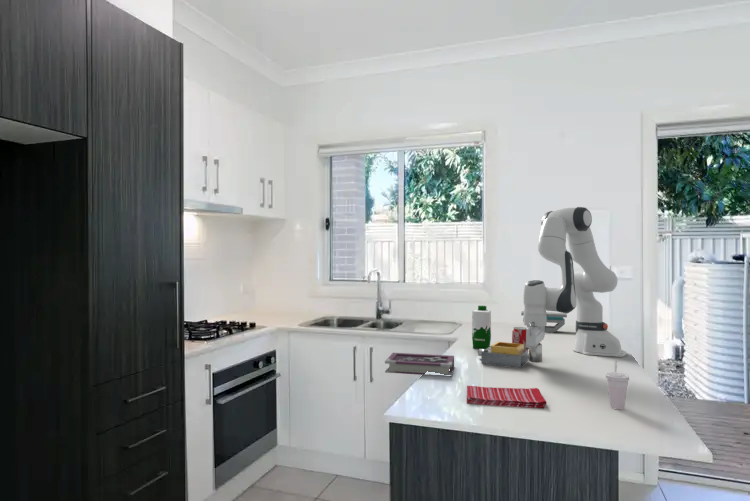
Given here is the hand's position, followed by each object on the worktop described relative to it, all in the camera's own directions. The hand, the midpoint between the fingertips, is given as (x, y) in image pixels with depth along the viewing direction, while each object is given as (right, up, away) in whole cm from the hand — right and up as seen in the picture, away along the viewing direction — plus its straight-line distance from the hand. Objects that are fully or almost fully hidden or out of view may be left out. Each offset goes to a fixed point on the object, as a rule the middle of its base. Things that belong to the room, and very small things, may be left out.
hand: (535, 354), depth 198 cm
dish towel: (-24, -5, -43) cm, 50 cm away
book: (-47, -5, -6) cm, 48 cm away
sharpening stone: (+34, -6, +88) cm, 95 cm away
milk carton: (-14, -5, +39) cm, 41 cm away
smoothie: (+7, -5, -52) cm, 53 cm away
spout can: (0, -3, 0) cm, 3 cm away
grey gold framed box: (-12, -5, +7) cm, 15 cm away
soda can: (+1, -5, +23) cm, 24 cm away
